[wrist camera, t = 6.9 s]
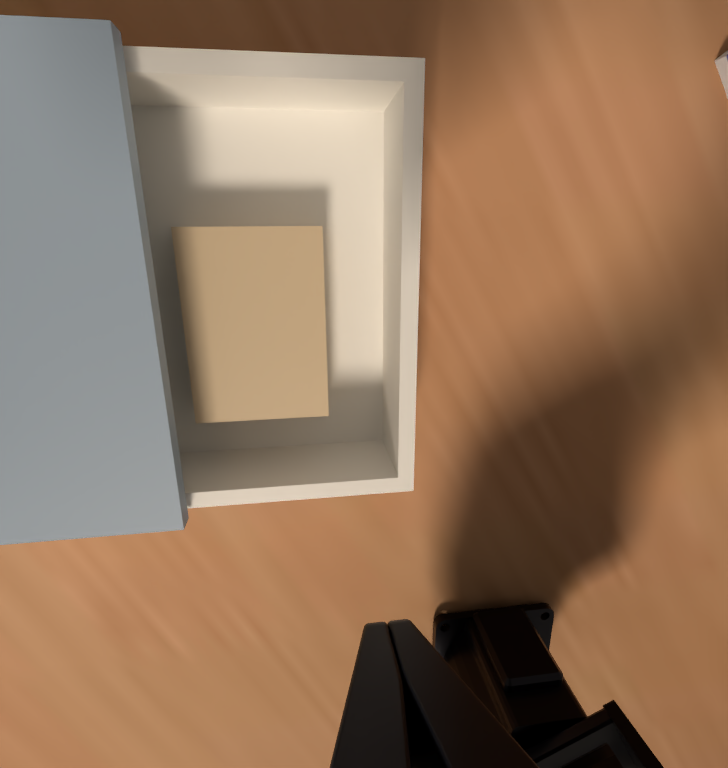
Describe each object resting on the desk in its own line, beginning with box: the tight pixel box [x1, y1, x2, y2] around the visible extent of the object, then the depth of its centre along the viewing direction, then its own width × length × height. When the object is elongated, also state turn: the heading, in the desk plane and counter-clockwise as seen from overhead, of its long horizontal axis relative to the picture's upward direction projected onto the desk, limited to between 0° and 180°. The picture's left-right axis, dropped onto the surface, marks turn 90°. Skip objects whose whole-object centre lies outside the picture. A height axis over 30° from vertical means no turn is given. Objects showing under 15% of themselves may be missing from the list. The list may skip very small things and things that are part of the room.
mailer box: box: [123, 46, 425, 508], centre depth 16 cm, size 14×15×4 cm
